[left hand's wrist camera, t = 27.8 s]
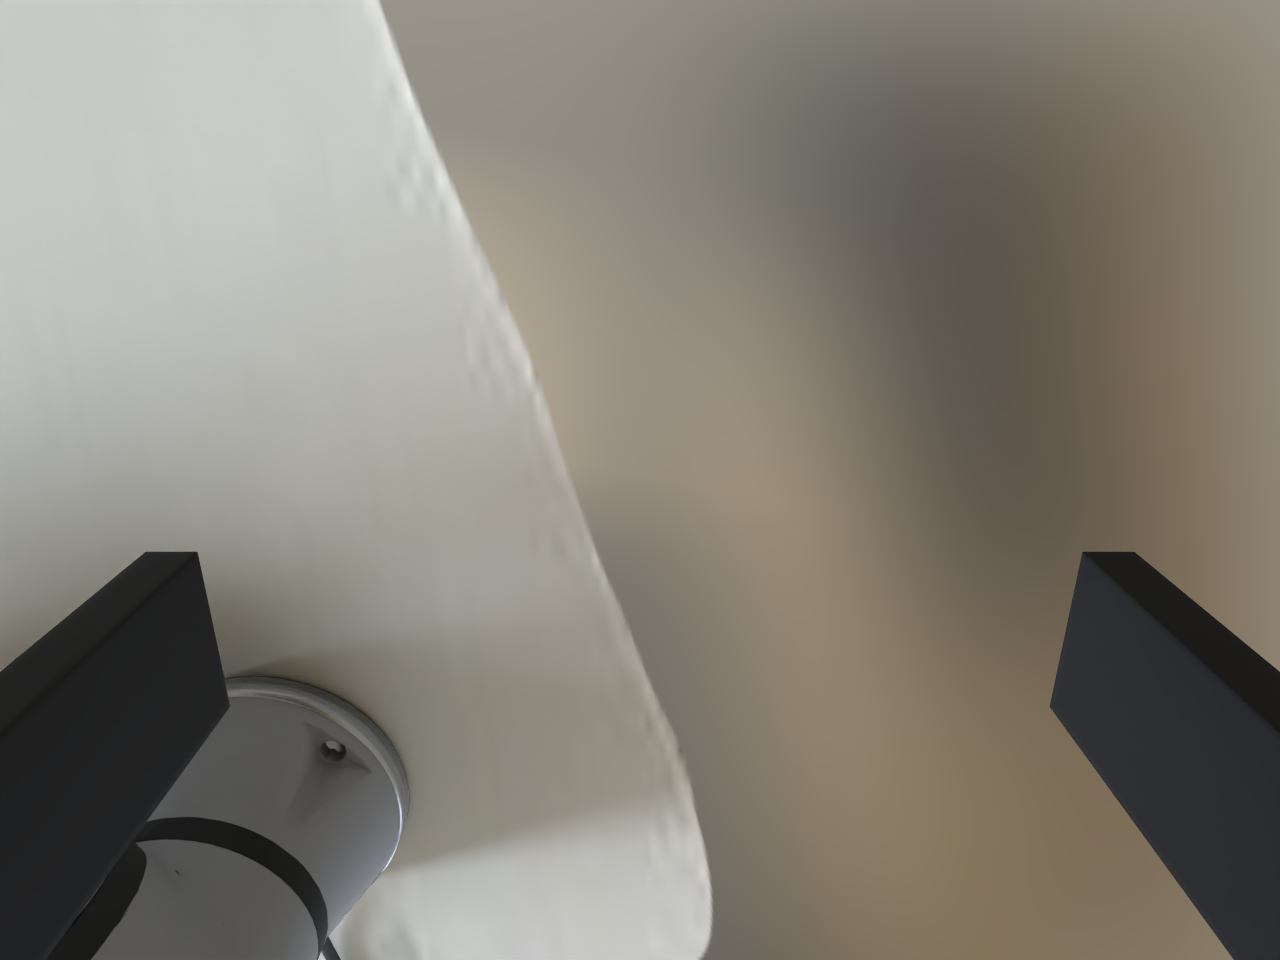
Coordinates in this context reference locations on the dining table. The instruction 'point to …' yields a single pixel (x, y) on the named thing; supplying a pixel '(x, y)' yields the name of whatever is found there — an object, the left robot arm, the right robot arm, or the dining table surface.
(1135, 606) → the left robot arm
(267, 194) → the dining table surface
